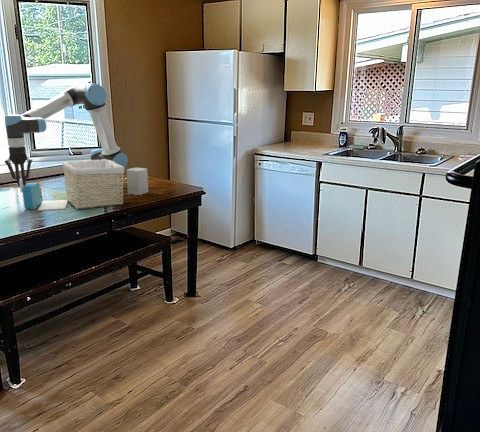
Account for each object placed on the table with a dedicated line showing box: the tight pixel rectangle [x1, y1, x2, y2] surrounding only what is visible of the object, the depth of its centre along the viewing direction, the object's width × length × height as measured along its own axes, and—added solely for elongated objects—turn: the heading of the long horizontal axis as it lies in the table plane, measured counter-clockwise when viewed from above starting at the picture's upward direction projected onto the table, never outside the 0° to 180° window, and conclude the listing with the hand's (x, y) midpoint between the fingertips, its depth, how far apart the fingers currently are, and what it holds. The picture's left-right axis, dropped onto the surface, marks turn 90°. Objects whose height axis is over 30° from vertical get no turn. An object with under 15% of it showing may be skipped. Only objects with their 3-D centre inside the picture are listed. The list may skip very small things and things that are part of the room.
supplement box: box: [125, 167, 149, 196], centre depth 262 cm, size 9×9×15 cm
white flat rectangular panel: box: [37, 199, 69, 212], centre depth 235 cm, size 13×18×1 cm
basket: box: [62, 159, 125, 209], centre depth 240 cm, size 27×27×22 cm
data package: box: [22, 182, 42, 210], centre depth 231 cm, size 12×4×12 cm, turn 5°
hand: (22, 191), depth 229 cm, fingers closed
